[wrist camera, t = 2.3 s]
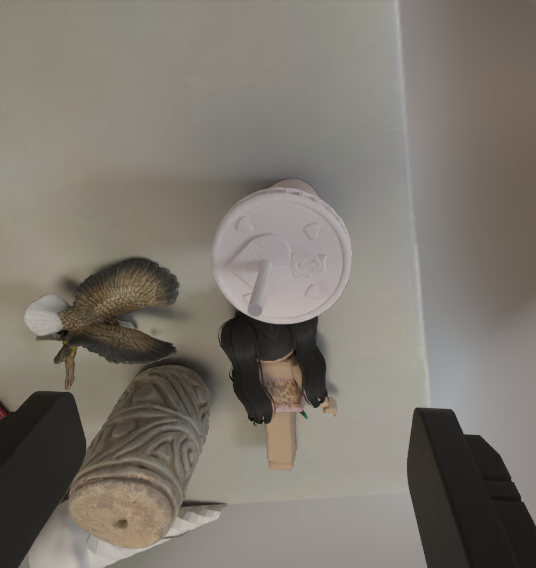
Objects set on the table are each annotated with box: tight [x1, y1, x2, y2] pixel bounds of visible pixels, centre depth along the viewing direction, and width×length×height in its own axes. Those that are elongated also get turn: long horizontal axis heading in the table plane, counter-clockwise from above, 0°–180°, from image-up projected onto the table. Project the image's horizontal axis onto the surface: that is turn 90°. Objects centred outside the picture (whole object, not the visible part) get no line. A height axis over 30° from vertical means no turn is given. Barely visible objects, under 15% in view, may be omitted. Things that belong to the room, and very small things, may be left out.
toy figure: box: [218, 310, 337, 470], centre depth 31 cm, size 7×6×15 cm
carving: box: [68, 365, 211, 549], centre depth 29 cm, size 6×8×12 cm
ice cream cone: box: [29, 499, 227, 568], centre depth 39 cm, size 8×8×18 cm
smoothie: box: [211, 179, 352, 324], centre depth 21 cm, size 6×6×14 cm
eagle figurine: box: [24, 260, 179, 390], centre depth 29 cm, size 8×7×9 cm
